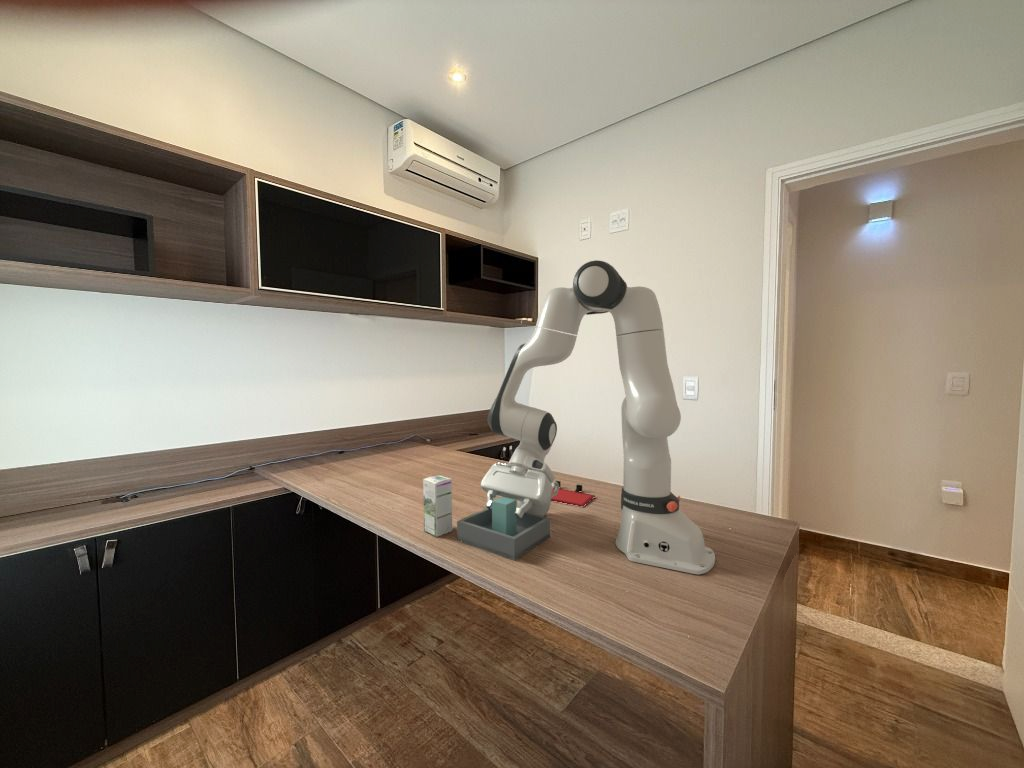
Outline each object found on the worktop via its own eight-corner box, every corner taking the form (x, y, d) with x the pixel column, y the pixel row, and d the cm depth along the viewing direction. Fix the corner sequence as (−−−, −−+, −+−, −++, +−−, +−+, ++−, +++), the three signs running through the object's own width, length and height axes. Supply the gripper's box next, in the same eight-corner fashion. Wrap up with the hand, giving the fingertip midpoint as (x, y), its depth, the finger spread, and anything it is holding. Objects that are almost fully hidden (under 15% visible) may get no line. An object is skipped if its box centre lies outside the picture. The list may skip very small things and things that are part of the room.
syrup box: (453, 531, 109) (453, 478, 108) (435, 537, 104) (435, 482, 104) (440, 525, 113) (440, 474, 112) (422, 531, 108) (422, 478, 108)
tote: (549, 536, 105) (550, 518, 105) (514, 560, 92) (514, 539, 92) (496, 521, 116) (496, 503, 116) (457, 540, 103) (457, 521, 103)
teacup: (570, 518, 118) (571, 485, 118) (528, 529, 110) (529, 493, 110) (546, 506, 128) (546, 475, 128) (506, 515, 121) (506, 482, 120)
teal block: (516, 534, 105) (516, 499, 104) (505, 540, 101) (506, 504, 101) (502, 529, 107) (502, 496, 107) (491, 535, 104) (492, 501, 103)
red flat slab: (523, 481, 156) (503, 493, 143) (523, 474, 156) (503, 485, 143) (598, 496, 141) (583, 510, 128) (598, 488, 140) (583, 501, 127)
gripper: (490, 455, 115) (466, 497, 108) (552, 465, 103) (530, 514, 96) (499, 467, 119) (477, 509, 111) (560, 479, 107) (540, 527, 99)
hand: (502, 512), depth 103 cm, fingers open, 8 cm apart
